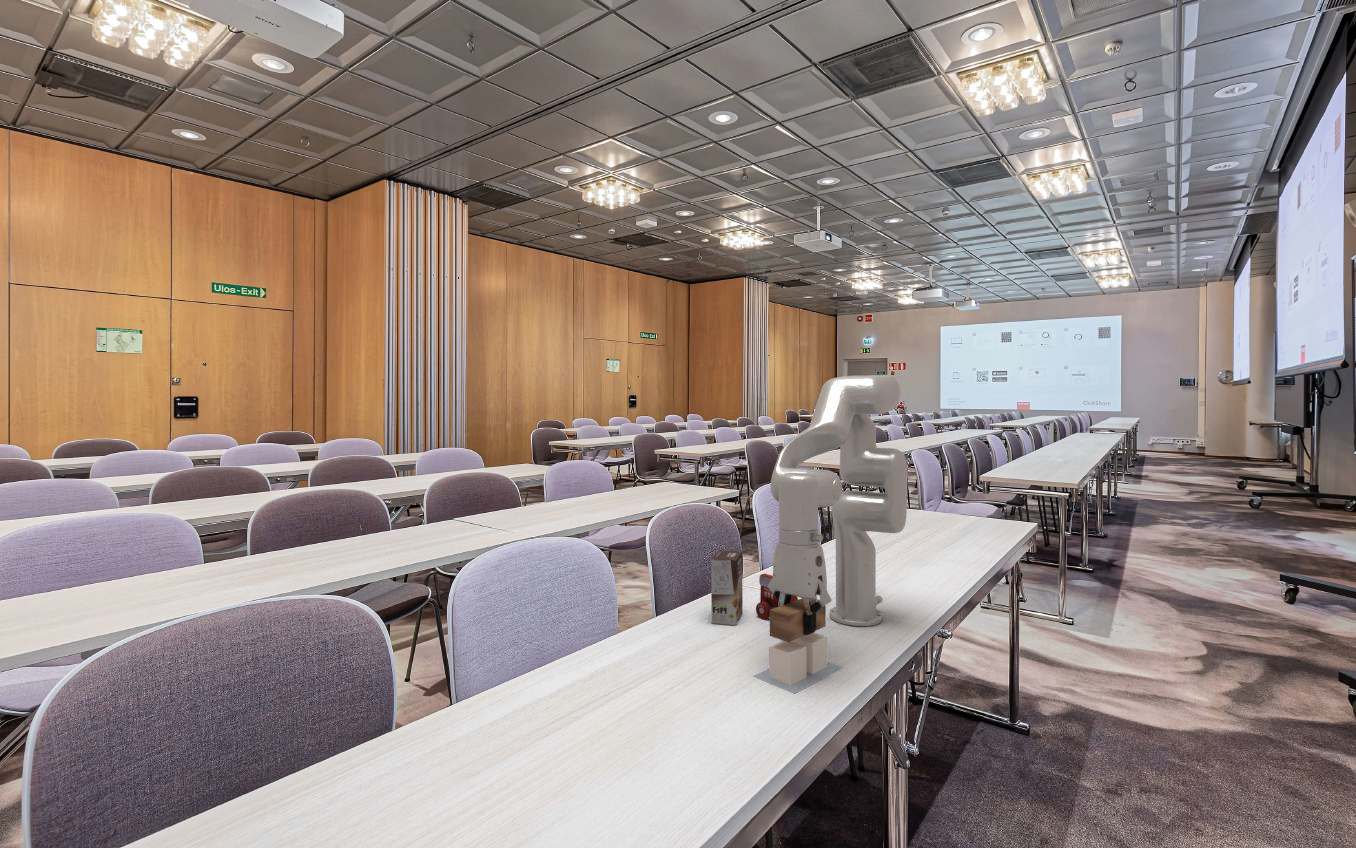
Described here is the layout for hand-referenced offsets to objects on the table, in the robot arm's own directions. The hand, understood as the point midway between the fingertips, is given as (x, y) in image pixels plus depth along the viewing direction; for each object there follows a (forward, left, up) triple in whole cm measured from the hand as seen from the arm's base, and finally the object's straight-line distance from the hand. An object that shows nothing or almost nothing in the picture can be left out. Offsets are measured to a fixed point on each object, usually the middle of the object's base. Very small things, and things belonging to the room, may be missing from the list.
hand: (798, 628), depth 120 cm
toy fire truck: (-23, -23, -10) cm, 34 cm away
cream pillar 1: (+3, 0, -9) cm, 9 cm away
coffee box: (-14, -32, -10) cm, 36 cm away
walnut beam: (0, 0, 0) cm, 0 cm away
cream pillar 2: (-4, 0, -9) cm, 9 cm away
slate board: (0, 0, -10) cm, 10 cm away
